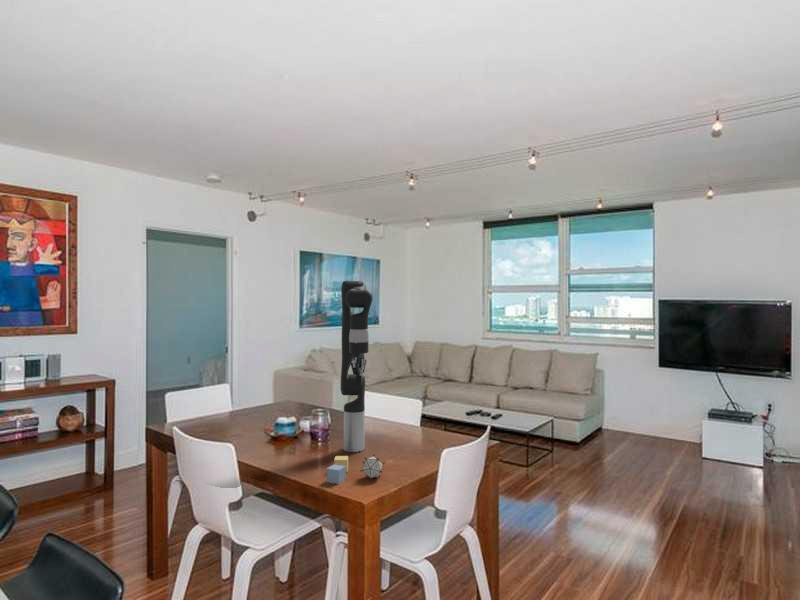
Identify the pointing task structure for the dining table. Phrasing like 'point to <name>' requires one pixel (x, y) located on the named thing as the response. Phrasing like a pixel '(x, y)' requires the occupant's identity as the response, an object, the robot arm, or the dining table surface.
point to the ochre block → (341, 461)
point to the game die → (372, 467)
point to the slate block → (336, 474)
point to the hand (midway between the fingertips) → (358, 385)
